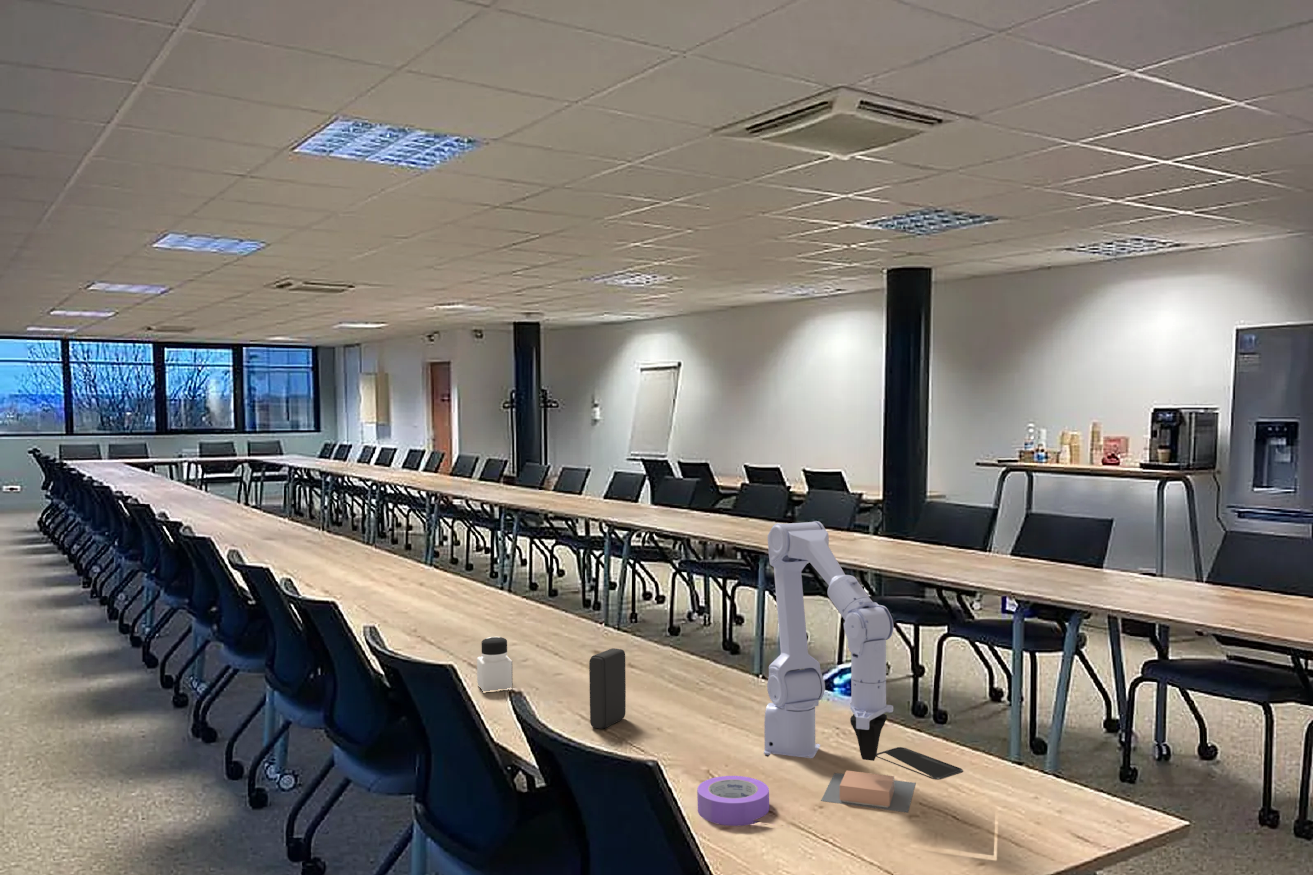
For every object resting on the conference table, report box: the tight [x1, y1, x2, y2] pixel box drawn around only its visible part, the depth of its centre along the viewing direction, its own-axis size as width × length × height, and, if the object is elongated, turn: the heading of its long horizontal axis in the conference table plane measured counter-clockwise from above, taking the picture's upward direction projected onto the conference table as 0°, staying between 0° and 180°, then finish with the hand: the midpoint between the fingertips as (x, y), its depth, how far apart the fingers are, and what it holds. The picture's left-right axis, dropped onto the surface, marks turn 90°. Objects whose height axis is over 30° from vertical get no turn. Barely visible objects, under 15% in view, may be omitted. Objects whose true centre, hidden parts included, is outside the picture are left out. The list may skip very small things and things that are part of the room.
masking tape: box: [696, 775, 770, 827], centre depth 153 cm, size 12×12×4 cm
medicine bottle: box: [476, 636, 514, 692], centre depth 225 cm, size 7×7×12 cm
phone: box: [875, 746, 964, 780], centre depth 172 cm, size 8×1×15 cm
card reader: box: [588, 647, 627, 730], centre depth 198 cm, size 9×4×15 cm, turn 149°
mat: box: [820, 772, 916, 813], centre depth 159 cm, size 14×13×1 cm
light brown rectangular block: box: [840, 770, 895, 808], centre depth 157 cm, size 8×3×7 cm
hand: (868, 758), depth 159 cm, fingers closed
